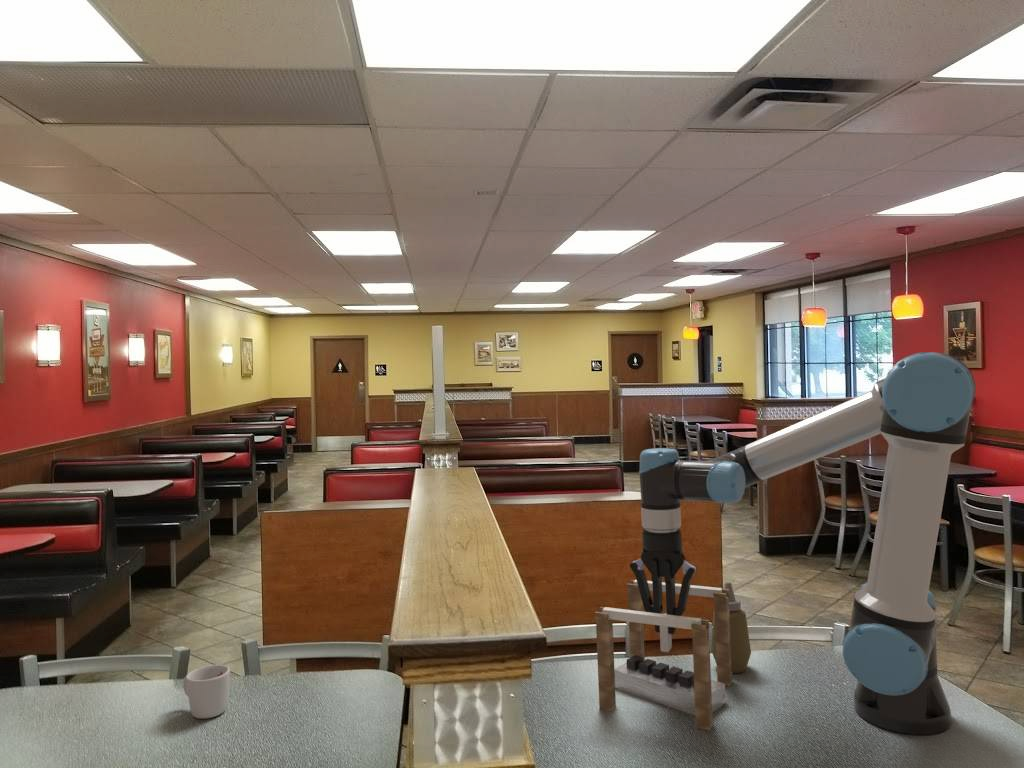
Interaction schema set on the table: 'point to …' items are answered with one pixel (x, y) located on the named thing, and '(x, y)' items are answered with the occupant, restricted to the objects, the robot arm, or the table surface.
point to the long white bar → (651, 618)
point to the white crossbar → (692, 591)
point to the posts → (699, 653)
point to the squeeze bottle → (735, 634)
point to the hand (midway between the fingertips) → (666, 649)
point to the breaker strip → (663, 684)
